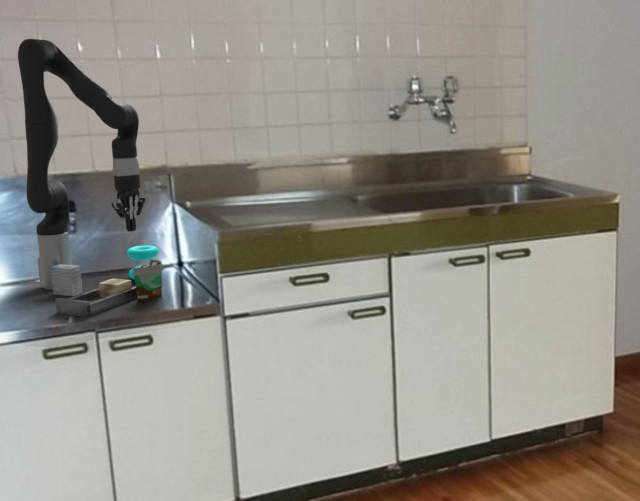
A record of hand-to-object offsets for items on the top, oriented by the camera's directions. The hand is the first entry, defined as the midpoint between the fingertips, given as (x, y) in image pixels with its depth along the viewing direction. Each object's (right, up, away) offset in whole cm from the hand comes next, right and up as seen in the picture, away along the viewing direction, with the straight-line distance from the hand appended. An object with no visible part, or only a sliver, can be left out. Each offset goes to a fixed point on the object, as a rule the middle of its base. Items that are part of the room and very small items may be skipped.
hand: (131, 230), depth 222 cm
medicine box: (-20, -19, +3) cm, 28 cm away
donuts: (-1, -15, +21) cm, 26 cm away
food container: (+8, -20, -4) cm, 22 cm away
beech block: (-3, -19, -4) cm, 20 cm away
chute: (-6, -21, -9) cm, 24 cm away
